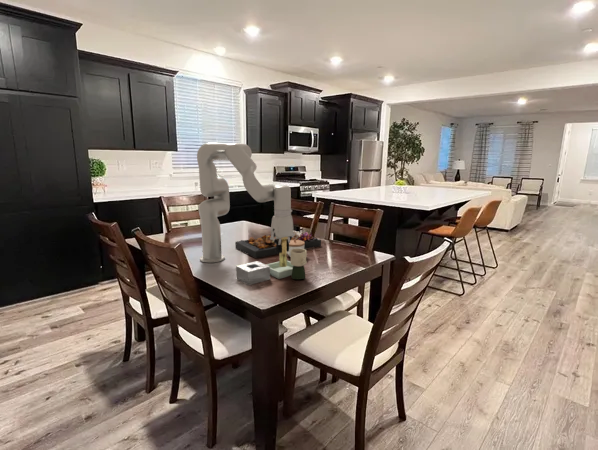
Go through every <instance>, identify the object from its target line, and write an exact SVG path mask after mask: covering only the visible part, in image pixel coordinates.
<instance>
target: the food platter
mask: <svg viewBox="0 0 598 450" xmlns="http://www.w3.org/2000/svg"><path fill="white" fill-rule="evenodd" d="M293 232H294V234H295V236H294V237H293V238H292V239H291V240H294V239H296V240H301V241H304V242H305V245H304V249H305V250H307V249H311V248H312V249H313V248H317V247H321V246H322V240H321V239H319V238H316V237H314V236H312V231H310V234H309V232H307V231H306V232H304V233H303V232H300V231H296V230H293ZM270 237H271V234H269V235H266V234H265V235H263V236H261V237H256V238H254V237H251V236H250V237H249V238H248V239H245V240H243V239H241V240H239V241H235V249H236V250H239V251H241V252H242V253H244V254H246V255H248V256H250V257H252V258H254V259H259V258H264V257H269V256H274V255H279V253H278V252H277V250H276V244H275V242H274V241H272V240H270ZM275 239H276V237H275Z"/></svg>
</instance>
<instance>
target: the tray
mask: <svg viewBox="0 0 598 450" xmlns="http://www.w3.org/2000/svg"><path fill="white" fill-rule="evenodd" d="M265 265H268V266H270V276H271V277H274V278H277V279H278V280H280V279H283V278H288V277H290V276H291V277H292V269H293V265H291V260H288V259H287V266H286V267H280V266H279V261H276V262H270V263H267V264H265Z"/></svg>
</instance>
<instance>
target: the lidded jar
mask: <svg viewBox="0 0 598 450" xmlns="http://www.w3.org/2000/svg"><path fill="white" fill-rule="evenodd" d="M304 245H305V242H304V241H301V240H296V239H294V240H291V241H290V243H289V251H287V256H288V257H290V258H291V250H292V249H304Z"/></svg>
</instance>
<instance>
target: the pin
mask: <svg viewBox="0 0 598 450" xmlns="http://www.w3.org/2000/svg"><path fill="white" fill-rule="evenodd" d="M287 239H288V237H283V238H281V245H282V253H279V254H278V259H279V260H278V262H279V266H280V267H286V266H287V260H288V254H287Z"/></svg>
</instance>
